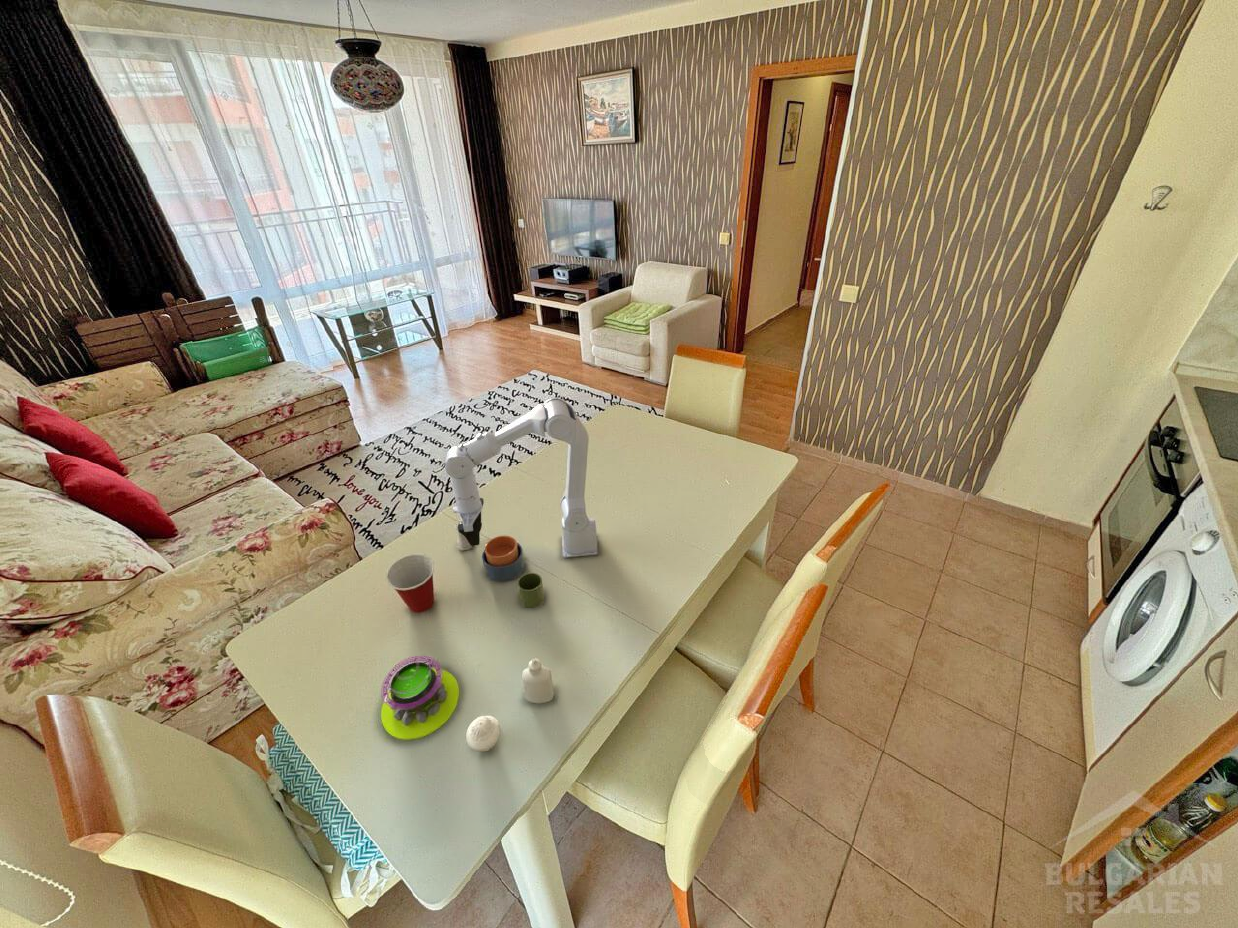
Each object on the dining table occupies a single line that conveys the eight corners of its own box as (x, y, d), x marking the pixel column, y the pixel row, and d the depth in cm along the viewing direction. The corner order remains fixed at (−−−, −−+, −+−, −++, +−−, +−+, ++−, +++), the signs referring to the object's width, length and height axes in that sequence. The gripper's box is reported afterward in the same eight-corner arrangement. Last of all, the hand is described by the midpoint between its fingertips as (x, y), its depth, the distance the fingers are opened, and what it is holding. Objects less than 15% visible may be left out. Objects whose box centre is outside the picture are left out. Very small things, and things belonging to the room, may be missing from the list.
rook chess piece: (469, 552, 135) (464, 530, 130) (454, 550, 136) (449, 528, 131) (476, 541, 138) (471, 519, 134) (462, 539, 139) (456, 517, 135)
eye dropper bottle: (535, 681, 102) (528, 645, 95) (557, 692, 100) (552, 656, 93) (522, 698, 99) (514, 662, 92) (545, 711, 97) (538, 675, 90)
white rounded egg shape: (462, 752, 90) (455, 732, 86) (481, 721, 95) (475, 701, 91) (491, 764, 88) (485, 744, 84) (509, 732, 93) (504, 712, 89)
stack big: (525, 551, 135) (523, 538, 132) (524, 579, 126) (521, 565, 123) (487, 555, 134) (484, 541, 131) (483, 583, 125) (479, 569, 122)
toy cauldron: (428, 656, 107) (416, 624, 101) (474, 692, 100) (464, 659, 94) (365, 711, 97) (348, 678, 91) (412, 755, 90) (396, 723, 84)
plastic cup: (401, 629, 114) (387, 593, 107) (396, 597, 122) (382, 562, 115) (448, 611, 118) (438, 576, 111) (440, 581, 126) (430, 547, 119)
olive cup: (544, 588, 123) (541, 571, 120) (544, 606, 119) (541, 589, 115) (521, 590, 123) (518, 574, 120) (520, 609, 118) (517, 592, 115)
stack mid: (521, 554, 134) (517, 534, 130) (520, 576, 127) (516, 555, 123) (490, 557, 133) (486, 537, 129) (488, 579, 126) (483, 558, 122)
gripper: (452, 477, 124) (462, 518, 131) (445, 513, 112) (457, 556, 119) (480, 474, 125) (489, 515, 132) (477, 509, 113) (486, 552, 120)
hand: (476, 534), depth 126 cm, fingers open, 7 cm apart
